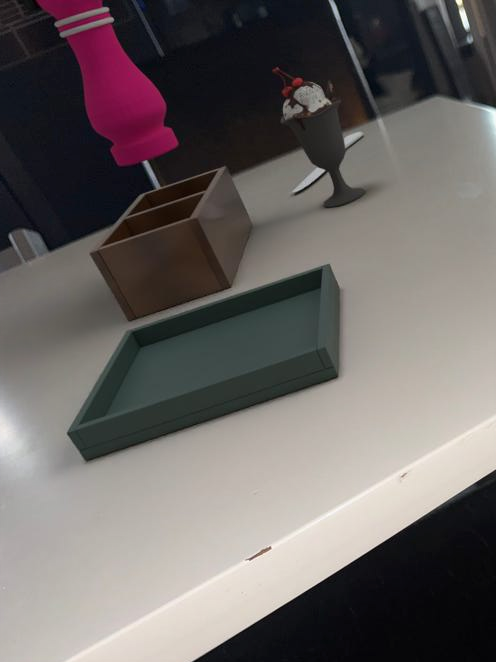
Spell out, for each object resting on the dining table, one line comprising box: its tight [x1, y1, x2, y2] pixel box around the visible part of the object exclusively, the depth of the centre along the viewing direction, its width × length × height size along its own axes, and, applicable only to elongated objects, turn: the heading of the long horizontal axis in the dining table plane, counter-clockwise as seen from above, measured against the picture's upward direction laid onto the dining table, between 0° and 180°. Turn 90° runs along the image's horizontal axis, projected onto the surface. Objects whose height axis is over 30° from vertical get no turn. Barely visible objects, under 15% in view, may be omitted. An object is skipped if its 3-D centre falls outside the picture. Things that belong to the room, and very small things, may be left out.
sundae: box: [271, 66, 366, 208], centre depth 82 cm, size 7×7×15 cm
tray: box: [66, 263, 341, 462], centre depth 56 cm, size 17×15×2 cm
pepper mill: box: [36, 0, 179, 167], centre depth 73 cm, size 7×7×20 cm
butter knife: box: [291, 131, 364, 194], centre depth 103 cm, size 1×24×3 cm
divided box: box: [89, 165, 253, 322], centre depth 78 cm, size 10×19×7 cm, turn 10°
